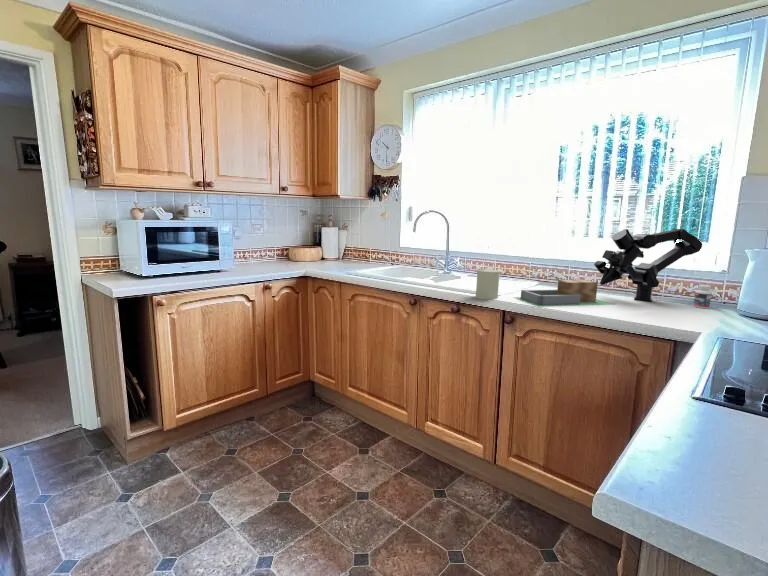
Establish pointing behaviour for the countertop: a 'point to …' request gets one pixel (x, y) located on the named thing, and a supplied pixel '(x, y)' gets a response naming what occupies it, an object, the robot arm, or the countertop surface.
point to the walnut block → (578, 289)
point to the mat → (598, 302)
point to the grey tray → (548, 297)
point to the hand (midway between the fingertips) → (601, 284)
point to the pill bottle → (702, 296)
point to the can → (487, 284)
